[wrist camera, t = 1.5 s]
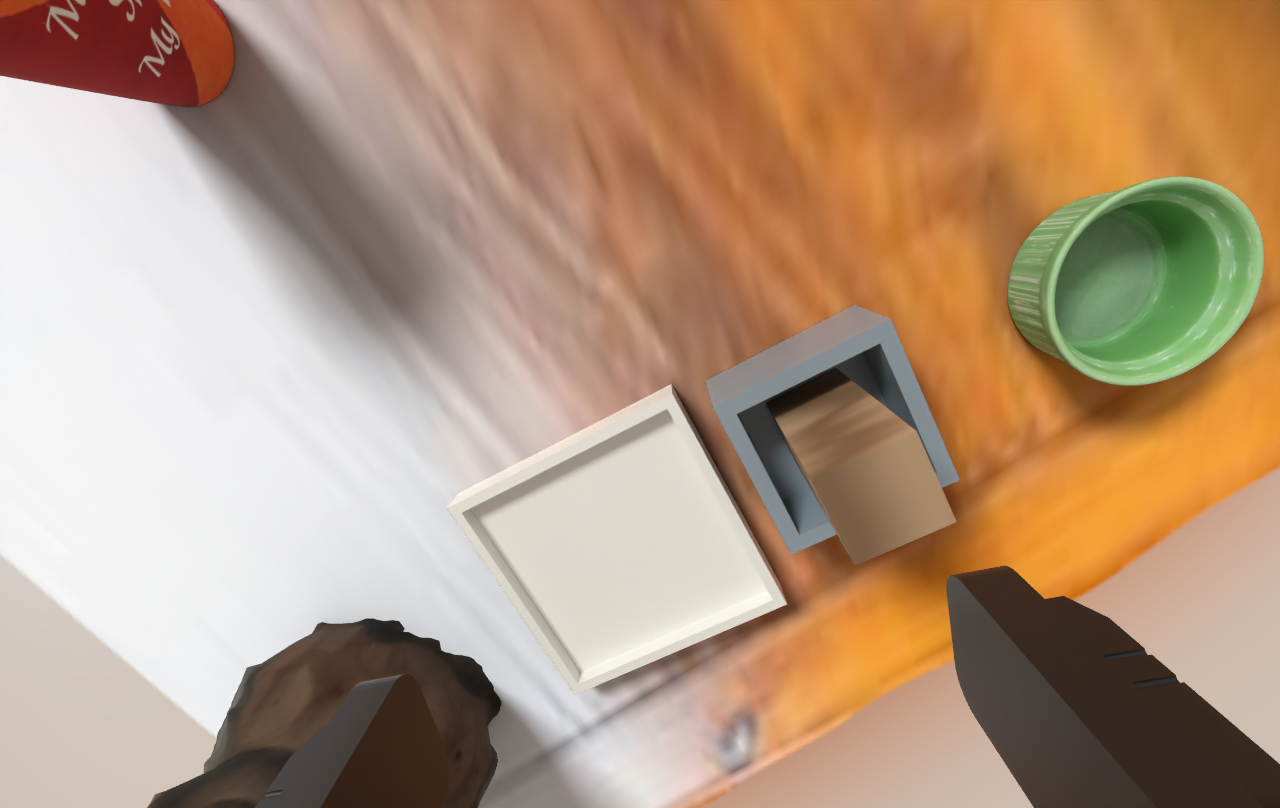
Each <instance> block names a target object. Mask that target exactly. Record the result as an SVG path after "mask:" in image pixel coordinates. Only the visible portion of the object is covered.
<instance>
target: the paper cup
mask: <svg viewBox="0 0 1280 808" xmlns="http://www.w3.org/2000/svg"><path fill="white" fill-rule="evenodd" d="M234 63H235V49H234V42H233V37H232V33H231V30H230V28H229V25H228V23H227V21H226V19H225V17H224V15H223V13H222V12H221V10H220V9H219V7H218V6H217V5H216V3H215V2H214V1H213V0H0V76H6V77H11V78H17V79H22V80H28V81H33V82H39V83H44V84H50V85H56V86H61V87H67V88H73V89H78V90H84V91H89V92H95V93H101V94H106V95H112V96H118V97H124V98H130V99H135V100H141V101H147V102H153V103H160V104H166V105H174V106H183V107H193V106H200V105H204V104H206V103H209V102H211V101H213V100H214V99H216V98H217V97H218V96H219V95H220V94H221V93H222V92H223V91H224V90H225V88H226V87H227V85H228V83H229V81H230V79H231V76H232V73H233V69H234Z"/></svg>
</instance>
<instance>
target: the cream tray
mask: <svg viewBox="0 0 1280 808" xmlns="http://www.w3.org/2000/svg"><path fill="white" fill-rule="evenodd" d="M447 510H448V512H449V513H450V515H451V516H452V517H453V519H454V520H455V522H456V523H457V525H458V526H459V528H460V529H461V531H462V532H463V533H464V535H465V536H466V538H467V539H468V541H469V542H470V544H471V545H472V547H473V548H474V550H475V551H476V552H477V554H478V555H479V557H480V558H481V560H482V561H483V563H484V564H485V566H486V567H487V568H488V570H489V571H490V573H491V574H492V576H493V577H494V579H495V580H496V582H497V583H498V584H499V586H500V587H501V589H502V590H503V592H504V593H505V595H506V596H507V598H508V599H509V600H510V602H511V603H512V605H513V606H514V608H515V609H516V611H517V612H518V614H519V615H520V616H521V618H522V619H523V621H524V622H525V624H526V625H527V627H528V628H529V630H530V631H531V632H532V634H533V635H534V637H535V638H536V640H537V641H538V643H539V644H540V646H541V647H542V648H543V650H544V651H545V653H546V654H547V656H548V657H549V659H550V660H551V662H552V663H553V664H554V666H555V667H556V669H557V670H558V672H559V673H560V675H561V676H562V678H563V679H564V680H565V682H566V683H567V685H568V686H569V688H570V689H571V691H572V692H573V694H574V695H576V694H578V693H581V692H583V691H585V690H588V689H590V688H592V687H595V686H597V685H599V684H602V683H604V682H606V681H609V680H611V679H613V678H616V677H618V676H621V675H623V674H625V673H628V672H630V671H632V670H635V669H637V668H639V667H642V666H644V665H646V664H649V663H651V662H653V661H656V660H658V659H660V658H663V657H665V656H667V655H670V654H672V653H674V652H677V651H679V650H681V649H684V648H686V647H688V646H691V645H693V644H695V643H698V642H700V641H702V640H705V639H707V638H709V637H712V636H714V635H716V634H719V633H721V632H724V631H726V630H728V629H731V628H733V627H735V626H738V625H740V624H742V623H745V622H747V621H749V620H752V619H754V618H756V617H759V616H761V615H763V614H766V613H768V612H770V611H773V610H775V609H777V608H780V607H782V606H784V605H787V603H786V600H785V597H784V594H783V591H782V588H781V585H780V583H779V581H778V579H777V577H776V575H775V573H774V571H773V570H772V568H771V566H770V564H769V562H768V560H767V559H766V557H765V555H764V553H763V551H762V549H761V548H760V546H759V544H758V542H757V540H756V538H755V537H754V535H753V533H752V531H751V529H750V527H749V525H748V524H747V522H746V520H745V518H744V516H743V514H742V513H741V511H740V509H739V507H738V505H737V503H736V502H735V500H734V498H733V496H732V494H731V492H730V491H729V489H728V487H727V485H726V483H725V481H724V480H723V478H722V476H721V474H720V472H719V470H718V468H717V467H716V465H715V463H714V461H713V459H712V457H711V456H710V454H709V452H708V450H707V448H706V446H705V445H704V443H703V441H702V439H701V437H700V435H699V434H698V432H697V430H696V428H695V426H694V424H693V422H692V421H691V419H690V417H689V415H688V413H687V411H686V410H685V408H684V406H683V404H682V402H681V400H680V399H679V397H678V395H677V393H676V391H675V389H674V388H673V386H672V384H670V385H668V386H667V387H665V388H663V389H661V390H659V391H657V392H655V393H653V394H651V395H649V396H647V397H645V398H643V399H641V400H639V401H637V402H635V403H633V404H631V405H629V406H628V407H626V408H624V409H622V410H620V411H618V412H616V413H614V414H612V415H610V416H608V417H606V418H604V419H602V420H600V421H598V422H596V423H594V424H592V425H590V426H589V427H587V428H585V429H583V430H581V431H579V432H577V433H575V434H573V435H571V436H569V437H567V438H565V439H563V440H561V441H559V442H557V443H555V444H553V445H552V446H550V447H548V448H546V449H544V450H542V451H540V452H538V453H536V454H534V455H532V456H530V457H528V458H526V459H524V460H522V461H520V462H518V463H516V464H514V465H513V466H511V467H509V468H507V469H505V470H503V471H501V472H499V473H497V474H495V475H493V476H491V477H489V478H487V479H485V480H483V481H481V482H479V483H477V484H476V485H474V486H472V487H470V488H468V489H466V490H464V491H462V492H460V493H458V495H457V496H456V497H455V498H454V500H453V501H452V502H451V504H450V505H449V506H448V507H447Z"/></svg>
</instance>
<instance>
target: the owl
mask: <svg viewBox="0 0 1280 808" xmlns="http://www.w3.org/2000/svg"><path fill="white" fill-rule="evenodd" d="M403 630H404V627H403V626H402V625H401V623H400V622H399V621H394V620H391V621H380V620H376V619H364V620H362V621H359V622H355V623H345V624H327V623H319V624H317V626H316V628H315V630H314V631H313V633H312V634H310V635H308V636H306V637H305V638H303V639H301V640H299V641H297V642H295V643H294V644H292V645H290V646H289V647H287V648H286V649H284V650H282V651H281V652H279V653H278V654H276V655H274V656H273V657H271V658H270V659H268V660H266V661H265V662H263V663H262V664H259V665H255V666H251V667H248V668H247V669H246V671H245V674H244V676H243V679H242V681H241V684H240V685H239V687H238V690H237V692H236V694H235V696H234V699H233V701H232V704H231V707H230V709H229V711H228V712H227V716H226V718H225V720H224V722H223V725H222V727H221V729H220V730H219V732H218V736H217V741H216V744H215V746H214V750H213V753H212V755H211V757H210V758H209V759H208V760H207V761H206V762H205V764H204V774H202V775H200V776H198V777H196V778H194V779H191V780H190V781H187V782H185V783H183V784H180V785H178V786H176V787H174V788H171V789H169V790H167V791H164V792H161V793H158V794H155V795H154V798H153V800H152V802H151V803H150V805H149V806H148V807H147V808H255V806H256V805H257V804H258V802H259V801H260V800H261V799H265V797H266V791H267V790H268V788H269V787H270V785H271V784H272V782H273V781H274V780H275V778H276V777H277V775H278V774H279V773H280V771H281V770H282V768H283V767H284V766H285V764H286V763H287V761H288V760H289V758H290V757H291V756H292V755H293V754H294V753H295V752H296V751H297V750H298V749H299V748H300V747H302V746H303V745H304V744H305V743H306V742H307V741H308V740H309V739H310V738H311V737H312V736H313V735H314V734H315V733H316V732H317V731H318V730H319V729H321V728H322V727H323V726H324V725H326V724H328V723H329V721H330V720H331V718H332V717H333V716H334V714H335V713H336V711H337V710H338V708H339V707H340V705H341V704H342V702H343V701H344V699H345V698H346V696H347V695H348V693H349V692H350V691H351V689H352V688H353V687H354V686H355V685H356V684H358V683H360V682H364V681H370V680H375V679H381V678H386V677H392V676H397V675H403V674H410V675H412V676H413V677H414V678H415V679H416V680H417V682H418V684H419V686H420V688H421V690H422V693H423V695H424V698H425V700H426V703H427V705H428V707H429V710H430V712H431V715H432V717H433V720H434V722H435V724H436V727H437V729H438V732H439V734H440V737H441V739H442V741H443V744H444V746H445V749H446V752H447V756H448V763H449V780H448V787H447V792H446V796H445V799H444V802H443V804H442V807H441V808H478V805H479V803H480V800H481V798H482V796H483V795H484V793H485V791H486V789H487V787H488V786H489V784H490V782H491V780H492V777H493V775H494V773H495V770H496V767H497V762H498V759H497V753H496V751H495V750H494V748H493V747H492V745H491V744H490V739H489V734H488V728H487V726H488V725H489V723H490V722H491V720H492V718H494V717H495V716H496V715H497V714H498V712H499V710H500V707H501V700H500V698H499V697H498V696H497V694H496V693H495V692H494V691H493V685H492V683H491V682H490V681H489V680H488V678H487V677H486V676H485V674H484V672H483V670H482V666H480V665H479V664H477V663H476V662H475V660H474V659H472V658H470V657H467V656H463V655H453V654H450V653H445V652H443V651H441V648H440V643H439V641H438V640H435V639H432V638H420V637H417V636H415V635H413V634H411V633H409V632H403Z"/></svg>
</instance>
